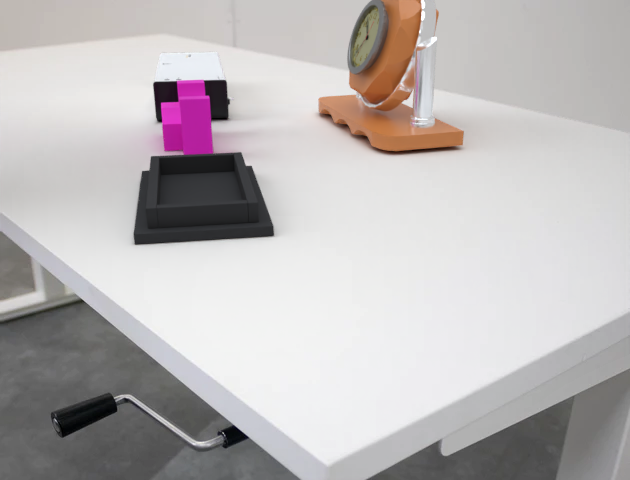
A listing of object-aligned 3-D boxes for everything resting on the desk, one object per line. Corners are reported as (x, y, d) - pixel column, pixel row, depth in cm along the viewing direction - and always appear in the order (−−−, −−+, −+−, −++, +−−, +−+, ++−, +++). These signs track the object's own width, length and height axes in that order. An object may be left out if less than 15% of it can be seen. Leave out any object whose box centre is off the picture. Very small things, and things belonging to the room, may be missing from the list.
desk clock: (381, 107, 128) (386, -23, 119) (465, 148, 102) (479, -14, 93) (312, 112, 124) (312, -22, 116) (381, 156, 99) (387, -12, 90)
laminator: (162, 86, 147) (159, 52, 145) (225, 84, 149) (224, 51, 146) (156, 123, 117) (152, 81, 115) (236, 120, 119) (234, 79, 116)
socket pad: (134, 244, 70) (131, 213, 69) (142, 178, 90) (140, 153, 88) (273, 235, 72) (272, 205, 71) (252, 173, 92) (251, 148, 90)
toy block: (163, 134, 111) (159, 81, 107) (206, 132, 112) (203, 79, 108) (164, 159, 97) (159, 100, 94) (213, 157, 98) (209, 98, 95)
